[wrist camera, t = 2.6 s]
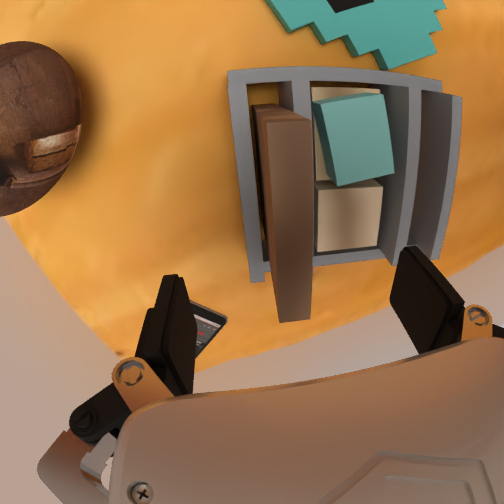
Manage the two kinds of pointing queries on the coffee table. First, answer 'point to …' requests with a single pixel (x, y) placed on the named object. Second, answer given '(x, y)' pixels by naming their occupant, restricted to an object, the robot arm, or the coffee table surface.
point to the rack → (394, 185)
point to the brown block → (286, 205)
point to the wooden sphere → (35, 122)
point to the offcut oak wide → (315, 95)
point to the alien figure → (367, 25)
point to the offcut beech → (346, 214)
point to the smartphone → (206, 325)
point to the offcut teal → (354, 137)
